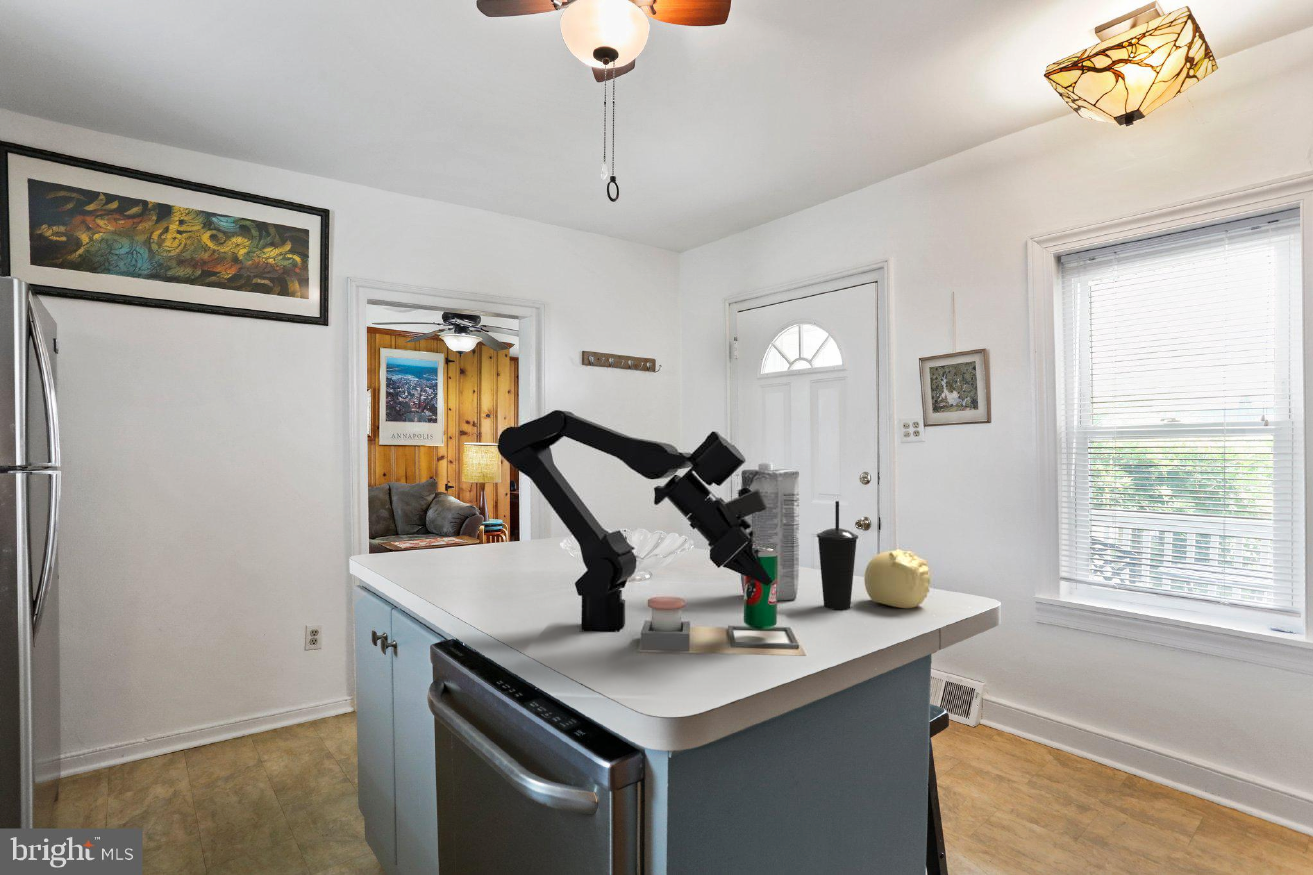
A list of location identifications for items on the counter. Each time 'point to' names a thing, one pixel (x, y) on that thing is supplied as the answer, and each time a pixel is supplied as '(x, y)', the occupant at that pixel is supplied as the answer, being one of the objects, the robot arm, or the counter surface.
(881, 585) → the sculpture
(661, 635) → the button housing
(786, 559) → the juice carton
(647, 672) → the counter surface
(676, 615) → the button
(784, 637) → the board
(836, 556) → the drinking cup
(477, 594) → the counter surface
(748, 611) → the soda can
